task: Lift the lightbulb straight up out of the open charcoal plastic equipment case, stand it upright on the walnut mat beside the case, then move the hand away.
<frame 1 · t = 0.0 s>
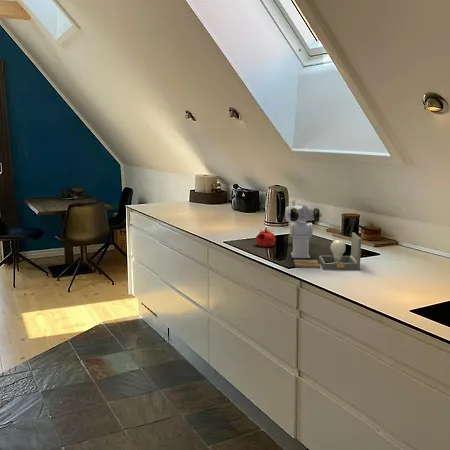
hand: (306, 216, 224), 22 cm above the worktop, tool horizontal, fingers open, 7 cm apart
case: (337, 265, 231), on the worktop
pomegranate: (265, 246, 269), on the worktop
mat: (306, 264, 232), on the worktop
lightbulb: (337, 265, 231), resting in case
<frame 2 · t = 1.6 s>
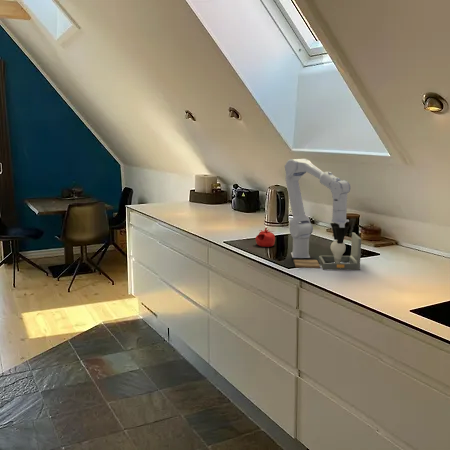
hand: (338, 241, 229), 10 cm above the worktop, tool pointing down, fingers open, 7 cm apart
nothing on the worktop moved.
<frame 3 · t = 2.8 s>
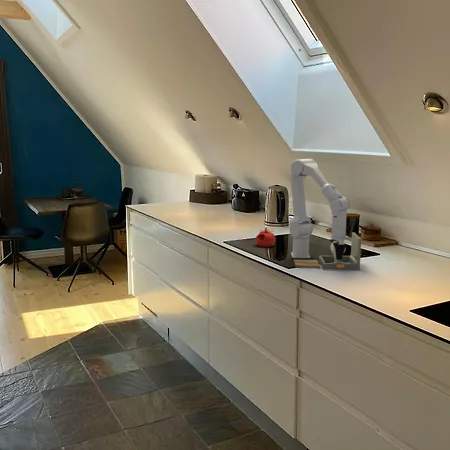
hand: (337, 257, 230), 3 cm above the worktop, tool pointing down, fingers closed on lightbulb, 6 cm apart
lightbulb: (337, 265, 231), resting in case, touching gripper
everything else where it was.
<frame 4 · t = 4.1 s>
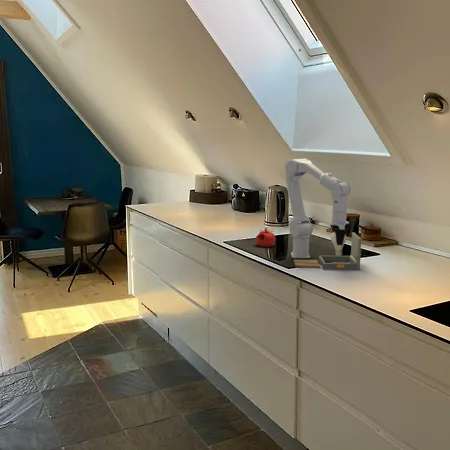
hand: (338, 243, 229), 10 cm above the worktop, tool pointing down, fingers closed on lightbulb, 6 cm apart
lightbulb: (338, 256, 230), point 4 cm above the worktop, touching gripper
everything else where it was.
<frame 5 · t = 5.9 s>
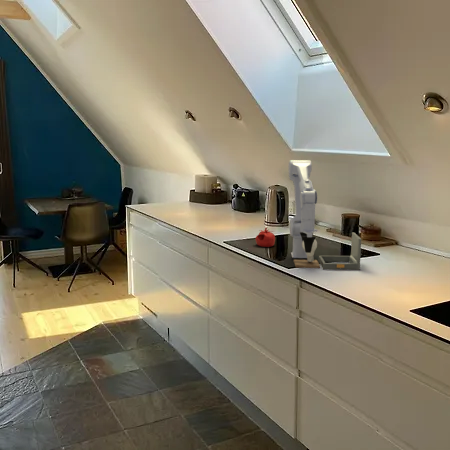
hand: (307, 250, 231), 6 cm above the worktop, tool pointing down, fingers closed on lightbulb, 6 cm apart
lightbulb: (310, 262, 232), point 1 cm above the worktop, touching gripper, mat
everything else where it was.
when the fingers open (6 cm above the worktop, at t = 6.6 s): lightbulb stays where it is, resting on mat.
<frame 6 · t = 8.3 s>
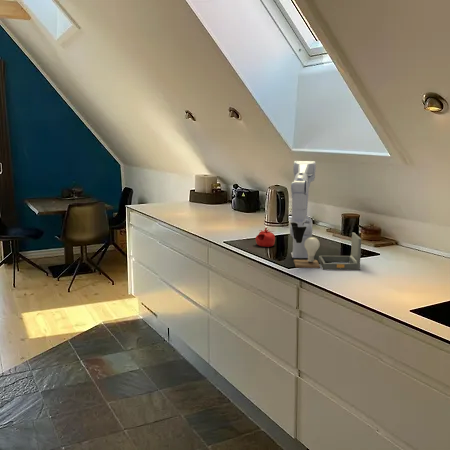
hand: (297, 240, 230), 10 cm above the worktop, tool pointing down, fingers open, 7 cm apart
lightbulb: (310, 262, 232), point 1 cm above the worktop, touching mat
everything else where it was.
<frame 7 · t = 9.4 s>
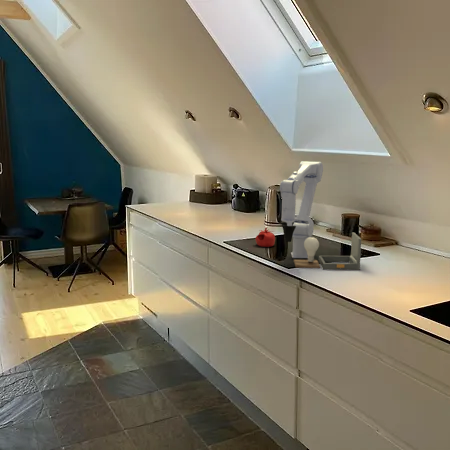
hand: (287, 239, 232), 10 cm above the worktop, tool pointing down, fingers open, 7 cm apart
nothing on the worktop moved.
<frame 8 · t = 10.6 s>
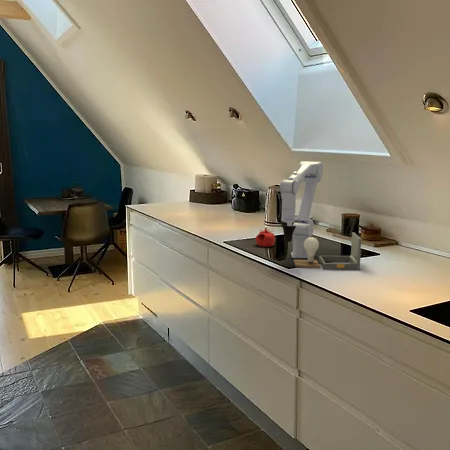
hand: (287, 239, 232), 10 cm above the worktop, tool pointing down, fingers open, 7 cm apart
nothing on the worktop moved.
at the end: lightbulb inside the target area on the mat (1.7 cm from its centre), point 0.8 cm above the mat's base; lightbulb tilted 0°; the gripper is holding nothing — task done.
